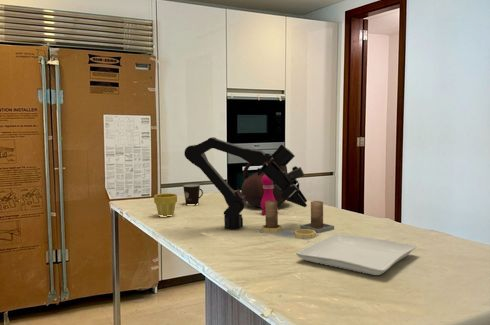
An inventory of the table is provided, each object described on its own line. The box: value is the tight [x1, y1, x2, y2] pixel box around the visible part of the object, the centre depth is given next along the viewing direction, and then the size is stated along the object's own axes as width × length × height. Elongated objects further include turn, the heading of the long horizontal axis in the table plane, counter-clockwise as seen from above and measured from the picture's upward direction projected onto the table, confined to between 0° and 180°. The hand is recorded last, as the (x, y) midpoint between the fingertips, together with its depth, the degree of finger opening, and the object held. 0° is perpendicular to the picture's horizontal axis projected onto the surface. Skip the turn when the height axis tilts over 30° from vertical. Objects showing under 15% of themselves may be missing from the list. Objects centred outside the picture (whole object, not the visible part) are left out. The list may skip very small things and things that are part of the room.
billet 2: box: [310, 200, 324, 229], centre depth 163 cm, size 5×5×11 cm
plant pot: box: [153, 192, 178, 216], centre depth 197 cm, size 10×10×10 cm
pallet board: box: [256, 224, 320, 243], centre depth 158 cm, size 22×9×3 cm, turn 51°
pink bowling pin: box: [260, 175, 276, 216], centre depth 196 cm, size 7×7×20 cm
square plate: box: [295, 233, 417, 276], centre depth 131 cm, size 27×27×4 cm
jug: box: [240, 158, 288, 208], centre depth 216 cm, size 25×25×25 cm
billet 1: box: [264, 200, 279, 228], centre depth 162 cm, size 5×5×11 cm
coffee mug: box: [182, 183, 204, 205], centre depth 223 cm, size 12×9×10 cm
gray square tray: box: [299, 222, 335, 234], centre depth 163 cm, size 9×9×2 cm
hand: (306, 204), depth 163 cm, fingers open, 9 cm apart
